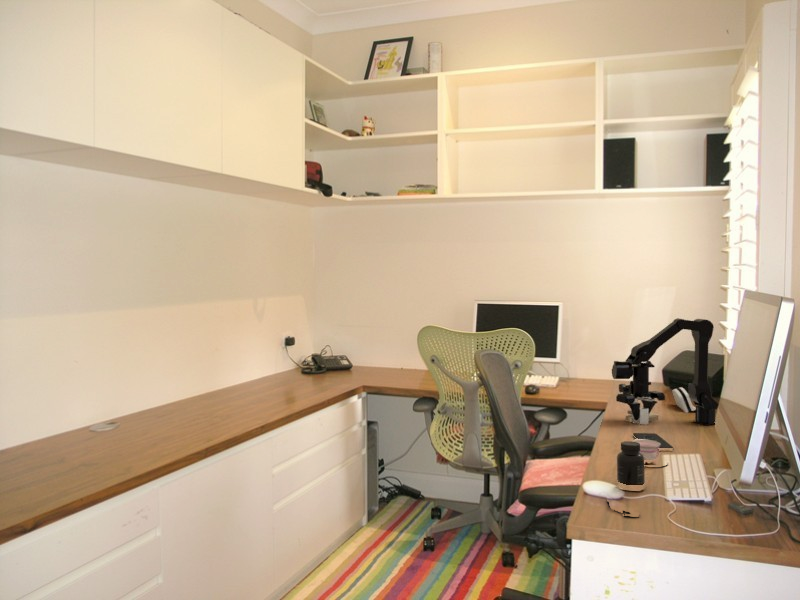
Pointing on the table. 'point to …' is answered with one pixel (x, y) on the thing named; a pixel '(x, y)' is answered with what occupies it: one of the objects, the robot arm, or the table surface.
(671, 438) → the table surface
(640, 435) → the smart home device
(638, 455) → the supplement bottle
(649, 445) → the teacup
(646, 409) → the marking gauge
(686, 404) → the white rounded piece
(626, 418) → the pine board
